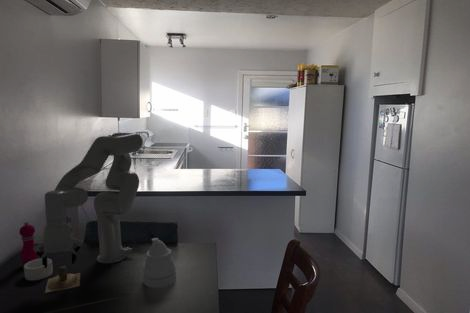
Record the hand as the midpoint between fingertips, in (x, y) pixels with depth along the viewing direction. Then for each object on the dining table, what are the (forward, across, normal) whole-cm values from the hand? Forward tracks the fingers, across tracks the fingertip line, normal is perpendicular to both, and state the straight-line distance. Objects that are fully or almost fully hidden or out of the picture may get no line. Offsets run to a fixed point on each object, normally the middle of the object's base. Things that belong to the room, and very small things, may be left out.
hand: (59, 264), depth 137 cm
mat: (+8, -1, -1) cm, 8 cm away
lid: (+8, -1, -1) cm, 8 cm away
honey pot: (+8, -37, +12) cm, 40 cm away
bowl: (+8, +9, -13) cm, 18 cm away
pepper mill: (+8, +14, -27) cm, 31 cm away
